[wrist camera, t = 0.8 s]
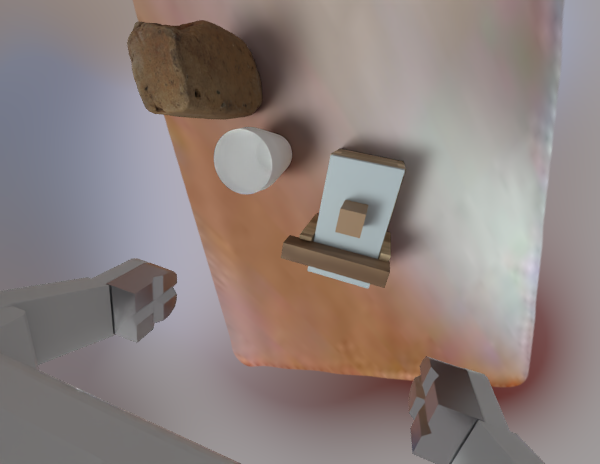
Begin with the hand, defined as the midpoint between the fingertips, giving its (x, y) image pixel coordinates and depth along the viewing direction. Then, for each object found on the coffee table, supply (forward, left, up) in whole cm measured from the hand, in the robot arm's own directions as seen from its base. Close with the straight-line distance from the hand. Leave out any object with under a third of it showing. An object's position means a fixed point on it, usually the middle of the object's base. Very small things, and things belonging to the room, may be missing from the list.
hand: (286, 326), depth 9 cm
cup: (+2, -16, -41) cm, 44 cm away
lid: (+8, 0, -33) cm, 34 cm away
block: (-8, -23, -41) cm, 48 cm away
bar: (+13, -1, -31) cm, 34 cm away
